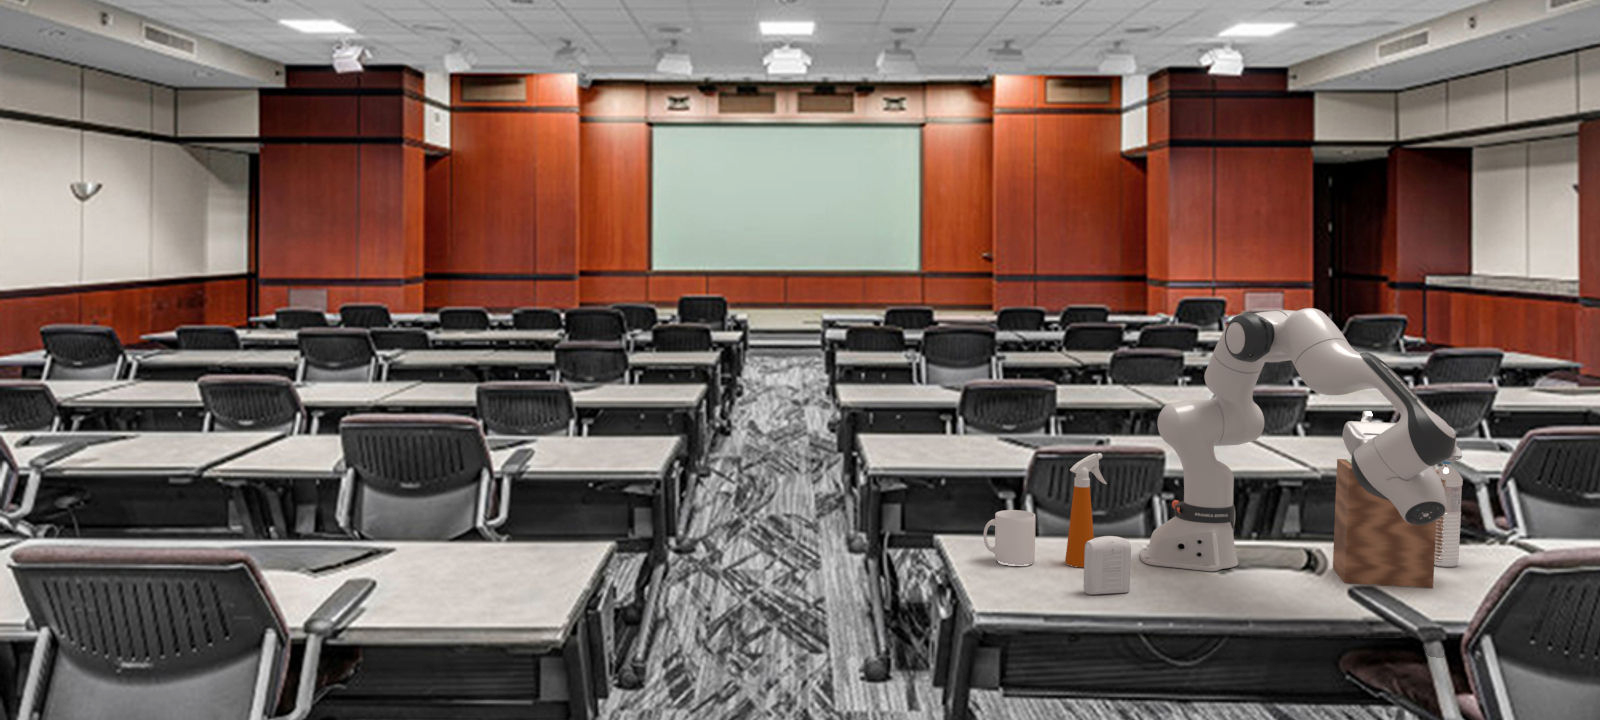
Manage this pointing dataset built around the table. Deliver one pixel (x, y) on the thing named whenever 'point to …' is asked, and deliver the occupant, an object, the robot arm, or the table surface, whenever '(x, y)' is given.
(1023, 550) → the mug
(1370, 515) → the stand
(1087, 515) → the spray bottle
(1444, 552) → the water bottle
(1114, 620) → the table surface
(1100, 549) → the photo printer
